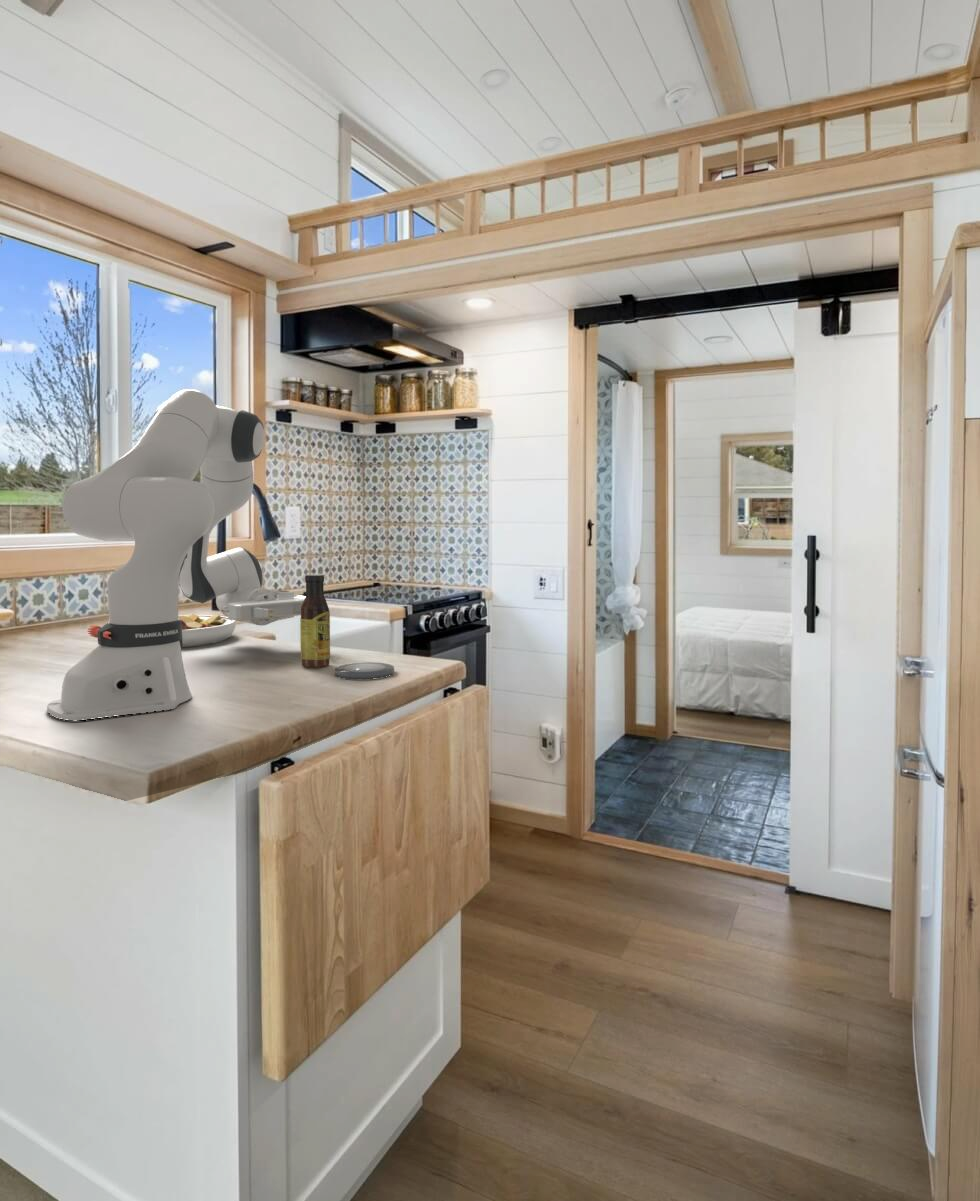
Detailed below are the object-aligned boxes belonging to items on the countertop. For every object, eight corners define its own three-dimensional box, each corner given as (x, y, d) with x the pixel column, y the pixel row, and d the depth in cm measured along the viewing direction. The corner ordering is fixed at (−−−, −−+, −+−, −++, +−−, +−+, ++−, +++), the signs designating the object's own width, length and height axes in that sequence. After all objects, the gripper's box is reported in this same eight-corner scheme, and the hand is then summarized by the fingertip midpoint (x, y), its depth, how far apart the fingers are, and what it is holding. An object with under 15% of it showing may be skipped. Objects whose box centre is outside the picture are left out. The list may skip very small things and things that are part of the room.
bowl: (113, 636, 207) (111, 607, 206) (229, 630, 219) (228, 602, 218) (109, 655, 180) (107, 621, 179) (242, 646, 192) (241, 615, 191)
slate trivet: (357, 682, 149) (357, 676, 149) (323, 673, 158) (323, 667, 158) (405, 673, 158) (405, 667, 158) (371, 665, 166) (371, 659, 166)
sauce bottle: (323, 669, 162) (321, 576, 160) (295, 668, 163) (293, 575, 161) (335, 663, 168) (333, 573, 166) (309, 662, 170) (306, 573, 167)
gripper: (216, 596, 174) (245, 601, 164) (296, 590, 188) (327, 594, 179) (217, 623, 175) (246, 630, 165) (297, 616, 189) (328, 621, 179)
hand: (289, 611), depth 172 cm, fingers open, 8 cm apart
